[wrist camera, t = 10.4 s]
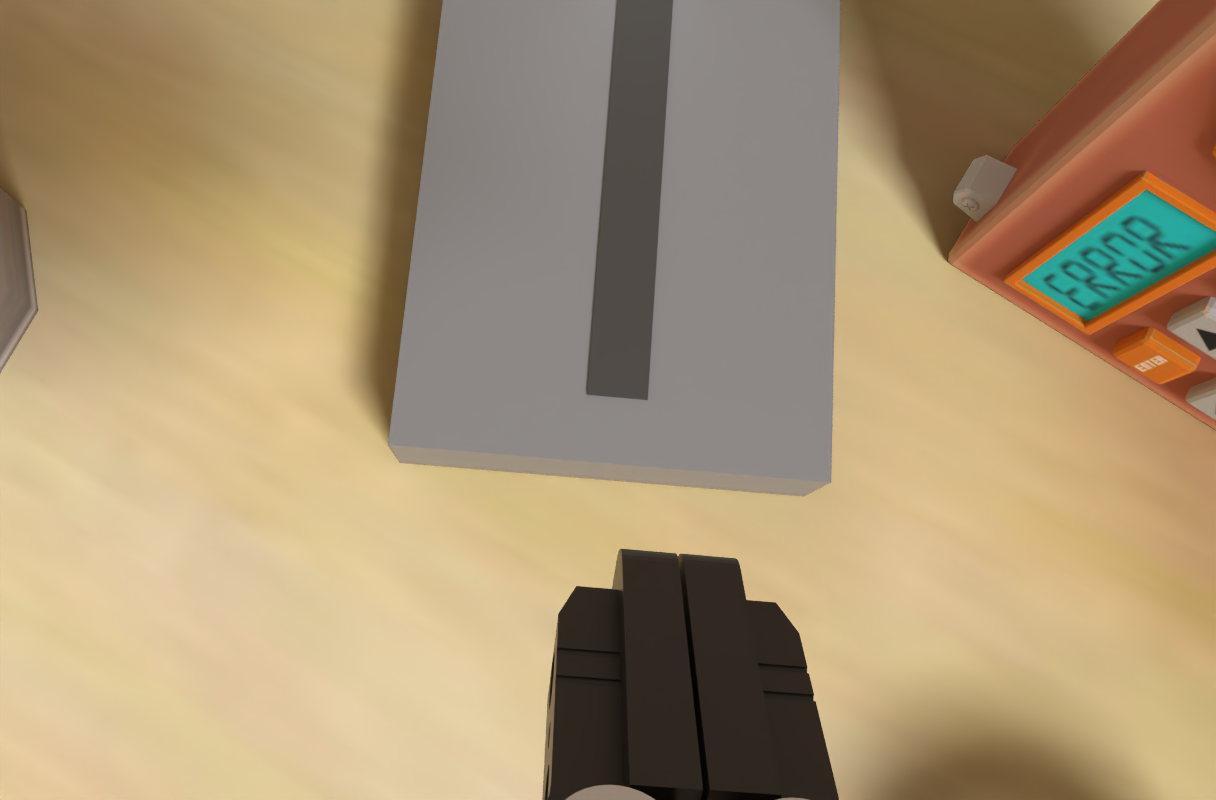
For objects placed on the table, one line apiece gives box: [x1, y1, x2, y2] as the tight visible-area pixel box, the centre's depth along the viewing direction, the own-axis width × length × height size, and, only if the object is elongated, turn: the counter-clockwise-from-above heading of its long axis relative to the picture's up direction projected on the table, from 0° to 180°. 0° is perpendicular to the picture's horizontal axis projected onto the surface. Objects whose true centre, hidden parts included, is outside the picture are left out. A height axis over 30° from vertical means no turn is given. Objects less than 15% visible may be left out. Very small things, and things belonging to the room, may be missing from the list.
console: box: [388, 0, 841, 496], centre depth 34 cm, size 13×27×3 cm, turn 176°
